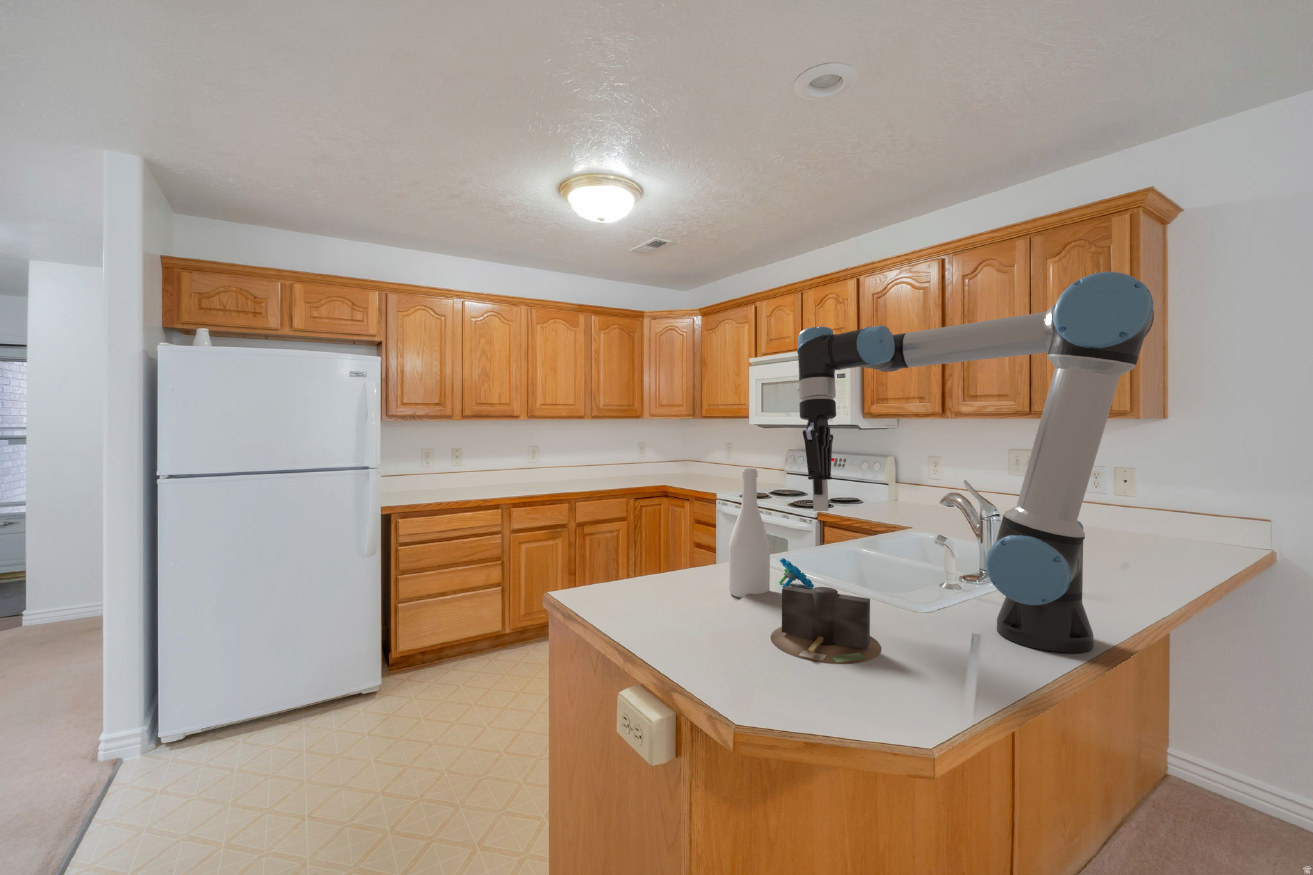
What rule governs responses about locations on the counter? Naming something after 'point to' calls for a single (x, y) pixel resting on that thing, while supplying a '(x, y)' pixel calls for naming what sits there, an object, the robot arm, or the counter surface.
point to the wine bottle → (749, 544)
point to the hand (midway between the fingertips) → (820, 510)
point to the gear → (793, 574)
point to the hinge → (826, 616)
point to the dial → (824, 649)
